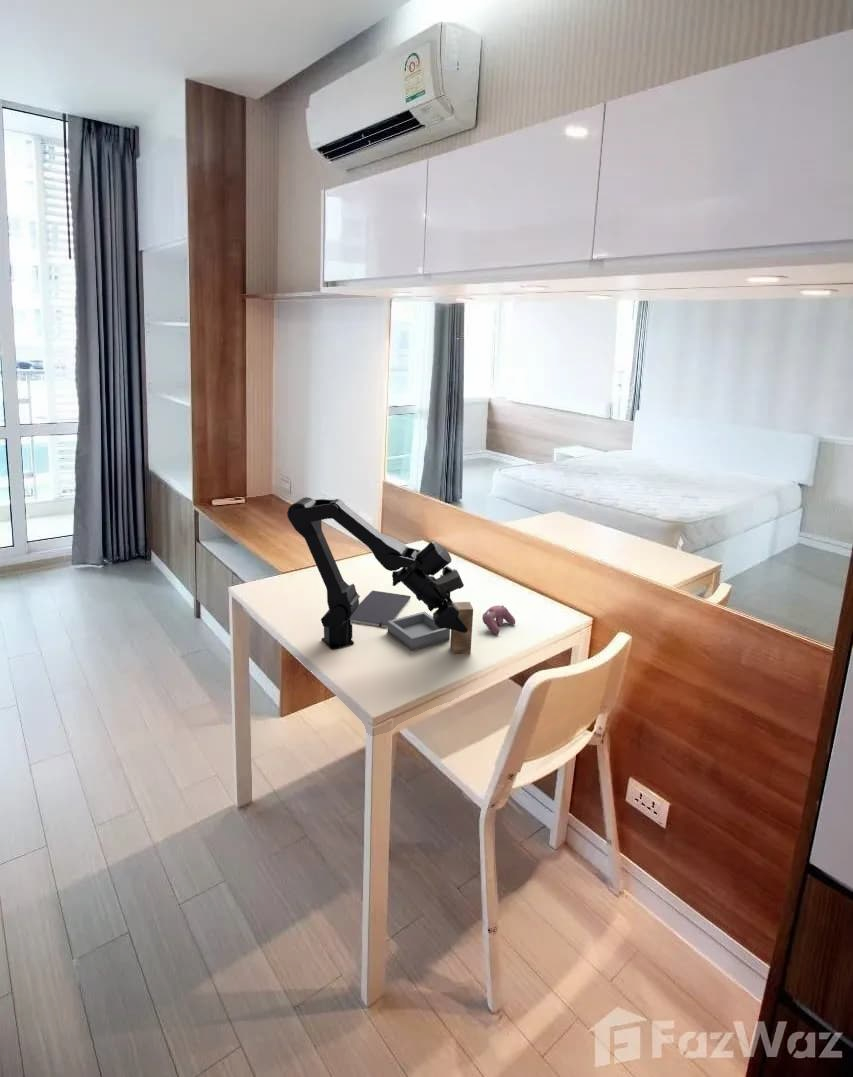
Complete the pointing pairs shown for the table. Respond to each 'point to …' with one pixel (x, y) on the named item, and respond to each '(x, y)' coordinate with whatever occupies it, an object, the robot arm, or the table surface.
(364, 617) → the notebook
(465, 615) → the walnut handle block
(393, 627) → the tray
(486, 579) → the table surface
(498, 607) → the video game controller
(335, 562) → the robot arm
